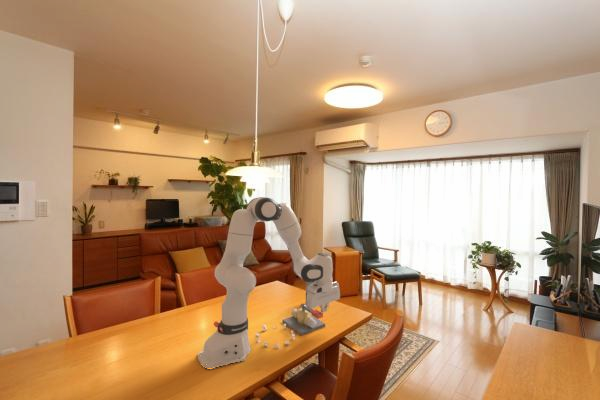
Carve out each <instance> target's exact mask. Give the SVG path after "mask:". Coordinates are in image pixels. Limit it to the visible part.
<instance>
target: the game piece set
mask: <svg viewBox="0 0 600 400" xmlns="http://www.w3.org/2000/svg"><path fill="white" fill-rule="evenodd" d="M277 327H278V325H276V326H273V329H277ZM286 328H287V325H286V324H284V323H283V329H284V330H286ZM262 329H263V331H264V332H267V331H266V330H267V326H266V324H263V325H262ZM273 329H272V330H273ZM260 333H261V331H259V332H258V333H256V334H255V336H256V337H257V340H255V341H256V343H257V344H258V343H259V344H260V343H261V342H262V345H263V346H264V347H268V346H269V344H268V343H269V340H267V341H266V342H265V341H262V340H260V339H261V338H260V336H261V335H260ZM290 334H291V340H293V341H294V340H295V339H296V337H295V336H296V335H295V334H294V330H291V331H290ZM284 343H285V344H284V345H287V346H289V344H290V343H291V341H290V339H288V340H286V341H284ZM275 349H280V345H279V343H276V344H275Z"/></svg>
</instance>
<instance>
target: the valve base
mask: <svg viewBox="0 0 600 400" xmlns="http://www.w3.org/2000/svg"><path fill="white" fill-rule="evenodd" d="M282 324H283V325H284V324H286V327H289V329H291V330H292V331H293V332H295V333H296V334H298V335H300V336H304V335H307V334H309V333H312V332H315V331H317V330H319V329H322V328H324V327H326V322H323V321H322V320H320V319H317V318H315V317H314V316H312V315H311V313H310V312H308V311H306V310H305V309H303V308H301V307H300V308H298V309H297V308H293V309H292V310H291V316H290V317H287V318H284V319H282Z"/></svg>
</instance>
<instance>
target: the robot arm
mask: <svg viewBox="0 0 600 400" xmlns="http://www.w3.org/2000/svg"><path fill="white" fill-rule="evenodd" d="M258 222H272V223H273V224H274V226H275V228H276V230H277V232H278V234H279V236H280V238H281V239H282V241H283V242H284V244H285V245H286V247H287V249H288V253H289V255H290V258H291V262H292V263H291V264H292V266H291V268H292V271H293V273H294V274H295V275H296V276H298V277H299V278H300V279H301V280H302V281H304V282H305V283H306V282H313V281H314V282H313V283H312V284H310V285H309V286H308V287H307V289H308V290H309V291H308V293H307V304H306V306H308V307H310V308H312V309H314V308H316V307H319V308H320V312H321V313H323V314H324V313H327V312H328V307H329V305H330V303H331V302H335V301H338V300H340V299H341V292H340V291H341V290H340V289H341V288H340V284H339V282H337V281H334V282H333V271H334V268H333V265H334V264H333V258H332V256H331V255H329V254H327V253H321V252H320V253H316V255H315V256H314V257H312V258H311V259H308V257H306V256H305V255H304V253H303V251H302V248H301V245H300V243H299V239H300V238H301V236H302V233H303V232H302V228H301V226H300V223H299V219H298V217H297V216H296V214H295V212H294V210H293V209H292V207H291V206H290V205H289V204H288V203H286V202H280V203H278V202H277V201H275V200H274V199H273V198H270V197H265V196H260V197H255V198H253V199H251V200H250V201H249V202H248V203H247V205H246V206H245V208H240V209H237V210H235V211H234V212H233V214H232V217H231V220H230V222H229V227H228V233H227V238H226V244H225V249H224V253H223V254H222V257H221V260H220V262H219V263H218V264H217V266H216V267H215V268H214V273H213V274H214V277H215V279H216V281H217V282H218V284H220V285H221V286H223V287H225V289H226V295H225V298H224V300H223V301H222V303H221V320H220V322H219V321H217V320H216V321H214V322H213V326H214V327H215V328H217V329H216V330H215V331H214V333H212V334H211V335H210V336H209V337H208V338H207V339H206V340H205V342H204V344H203V349H202V350H200V351H198V354H197V360H198V359H199V361H200V363H201V364H202V365H203V366H204V367H206V368H213V367H217V366H222V365H226V364H230V363H234V362H238V363H240V361H241V362H244V361H246V358H247V355H249V353H250V352H251V351H252V350H251V344H250V341H249V335H248V334H249V333H248V330H249V319H248V300H249V297H250V293H252V292H253V290H254V289H255V287H256V284H257V278H256V275H255V274H254V272H252V271H251V270H250V269H249V268H247V267H244V263H245V260H246V258H247V256H248V255H250V253H251V251H252V245H253V238H254V231H255V229H254V228H255V226H256V224H257V223H258ZM200 355H201V356H200ZM199 361H198V362H199ZM200 363H199V364H200ZM201 364H200V365H201ZM206 364H207V365H206ZM234 364H235V363H234ZM230 365H231V364H230ZM226 366H227V365H226ZM204 367H203V368H204ZM222 367H223V366H222Z"/></svg>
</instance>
